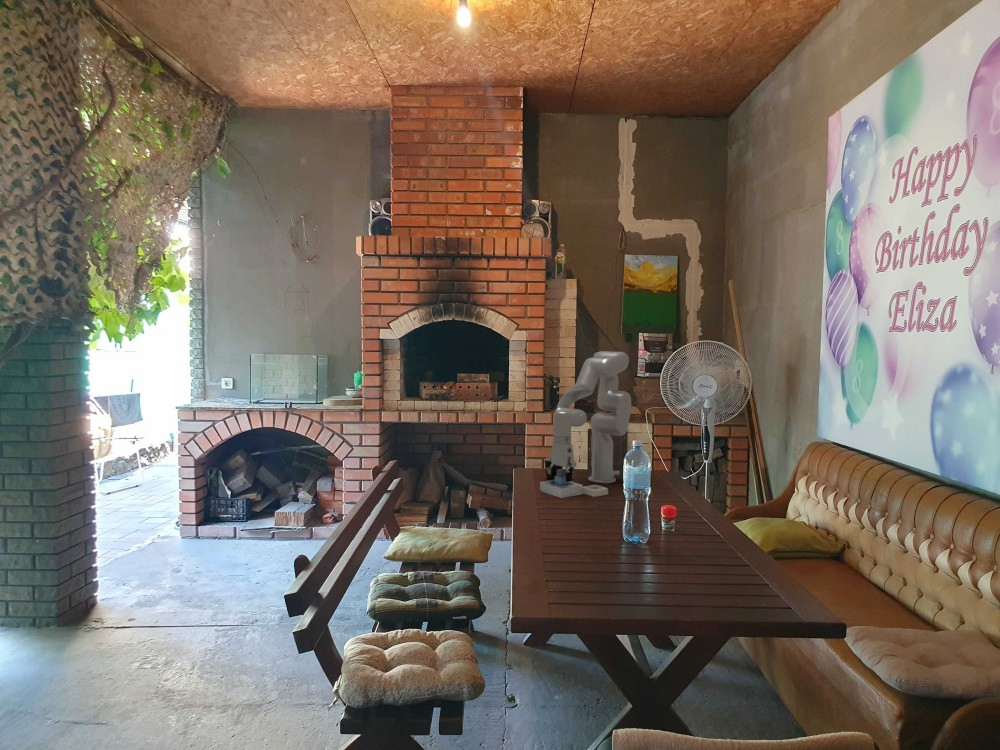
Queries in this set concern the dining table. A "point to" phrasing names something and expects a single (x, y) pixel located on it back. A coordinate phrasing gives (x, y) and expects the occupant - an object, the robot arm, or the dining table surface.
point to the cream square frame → (595, 490)
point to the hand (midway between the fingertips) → (561, 479)
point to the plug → (561, 477)
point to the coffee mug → (549, 470)
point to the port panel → (561, 488)
